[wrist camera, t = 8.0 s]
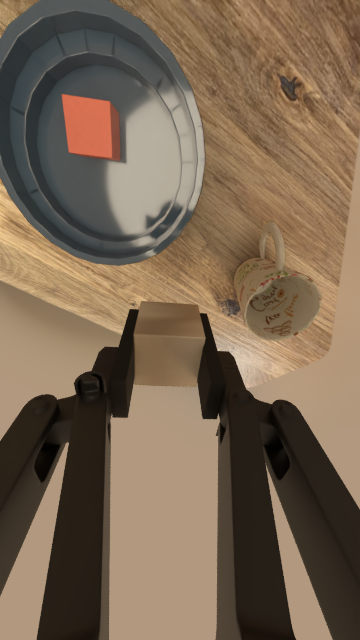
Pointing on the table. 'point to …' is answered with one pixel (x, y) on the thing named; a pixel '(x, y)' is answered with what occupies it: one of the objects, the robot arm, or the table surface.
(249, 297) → the mug
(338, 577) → the robot arm
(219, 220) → the table surface
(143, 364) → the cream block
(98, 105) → the coral block
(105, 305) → the table surface
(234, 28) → the table surface
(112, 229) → the bowl
